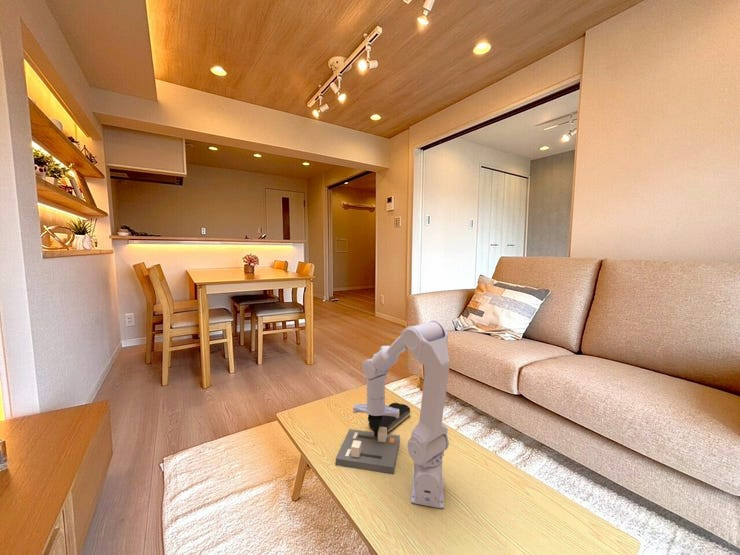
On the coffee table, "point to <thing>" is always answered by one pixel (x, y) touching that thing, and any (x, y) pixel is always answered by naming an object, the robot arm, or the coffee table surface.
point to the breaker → (356, 448)
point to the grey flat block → (369, 452)
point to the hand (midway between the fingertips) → (376, 435)
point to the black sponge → (391, 420)
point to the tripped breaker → (382, 434)
